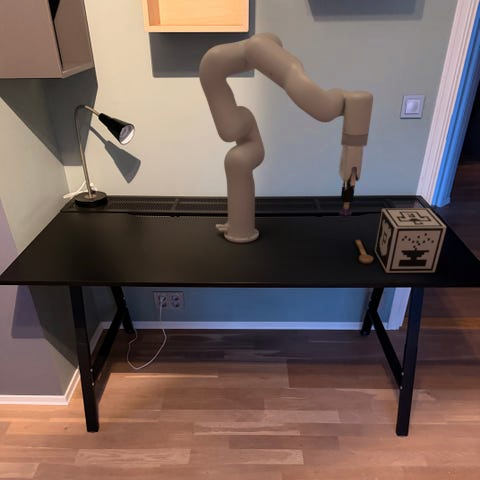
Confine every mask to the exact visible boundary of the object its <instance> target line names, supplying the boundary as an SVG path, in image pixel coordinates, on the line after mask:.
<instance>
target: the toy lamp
mask: <svg viewBox="0 0 480 480" xmlns="http://www.w3.org/2000/svg"><path fill="white" fill-rule="evenodd" d="M356 176H357V175H356ZM349 179H351V178H349ZM348 183H350V182H348ZM349 207H350V202H346V203H344V202H343V208H340V209H339V211H338V216H339V217H342V218H343V217H344V218H348V217H352V215H353V212H352V210H351V209H350V208H349Z"/></svg>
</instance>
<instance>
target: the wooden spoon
mask: <svg viewBox="0 0 480 480" xmlns="http://www.w3.org/2000/svg"><path fill="white" fill-rule="evenodd" d="M354 243H355V245H356V246H357V248H358V250H359V254H360V255H359V256H358V261H359V262H360V263H362V264H372V263H373V261H374V257H373V256H372V255H370V254H367V252H366V250H365V248H364V246H363V243H362V240H361V239H356V240H355V242H354Z"/></svg>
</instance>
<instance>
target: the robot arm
mask: <svg viewBox="0 0 480 480" xmlns="http://www.w3.org/2000/svg"><path fill="white" fill-rule="evenodd" d="M254 70H256V71H258V72H259V73H261V74H262V75H263V76H265V77H266V78H267V79H269V80H270V81H271V82H272V83H274V84H276V85H277V86H278V87H280V89H282V90H283V91H284V92H285V94H286V95H287V97H289V99H290V100H291V101H292V102H293V103H294V105H296V106H297V107H298V108H299V109H300V110H302V112H304V113H305V114H307V115H308V116H309V117H311V118H313V119H314V120H315V121H318V122H321V123H330V122H333V121H334V120H336V118H339V117H343V118H342V127H341V135H340V136H341V137H340V145H341V151H340V158H339V166H338V176H339V177H340V178H341V180H342V185H341V193H340V199H341V201H342V203H343V204H344V203H346V202H349V203H353V202H354V196H355V187H356V182H358V181H360V179H361V173H362V166H363V155H364V148H365V147H366V146H367V145H368V139H369V134H370V133H369V132H370V126H371V118H372V111H373V104H374V95H373V94H372V93H371V92H370V91H366V90H365V91H364V90H354V91H351V90H346V89H342V88H335V87H334V88H329V89H328V90H326V89H325V90H324V89H323V88H322V87H321V86H319V85H318V84H317V83H316V82H315V81H313V80H312V79H311V78H310V77H309V76H308V74H307V73H306V71H305V69H304V64H303V62H302V60H300V59H299V58H298V57H296V56H295V55H293V54H292V53H291V52H290V51H288V50H286V48H284V47H283V42H282V41H281V39H280V37H279V36H278V35H277V34H276V33H274V32H260V33H259V32H258V33H256V34H255V33H254V34H253V35H252V36H250V37H249V38H246V39H243V40H239V41H236V42H229V43H222V44H218V45H215V46H213V47H211V48H209V49H208V50H207V51H206V53H205V54H204V55H203V56H202V58H201V61H200V63H199V68H198V78H199V83H200V86H201V90H202V91H203V94H204V96H205V100H206V102H207V104H208V109H209V111H210V114H211V116H212V120H213V123H214V127H215V129H216V132H217V134H218V137H219V138H220V139H221V140H222V141H223V142H225V143H229V144H230V143H234V142H235V145H234V146H232V147H231V148H229V150H228V151H227V152H226V154H225V156H224V159H223V168H224V174H225V177H226V192H227V193H226V195H227V222H226V223H224V224H221V223H216V224H215V230H217V231H218V232H219V233H222V232H223V237H224V238H225V239H226V241H230V242H231V243H239V244H240V243H241V244H243V243H249V242H253V241H255V240H257V239H258V238H259V237H260V232H259V230H258V228H257V229H256V225H255V223H256V184H255V183H256V182H255V178H254V170H255V169H257V168H258V167H259V166H260V165H261V164H262V163H263V162H264V160H265V157H266V156H265V155H266V152H265V145H264V143H263V139H262V136H261V133H260V130H259V126H258V122H257V120H256V117H255V115H254V113H253V112H252V111H251V110H250V109H249V108H248V107H247V106H244V105H238V104H237V101H236V97H235V94H234V91H233V90H232V88H231V86H230V85H229V83H228V80H227V78H228V77H231V76H234V75H238V74H242V73H245V72H249V71H254ZM356 175H357V176H356ZM349 178H351V179H349ZM348 182H350V183H348Z"/></svg>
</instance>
